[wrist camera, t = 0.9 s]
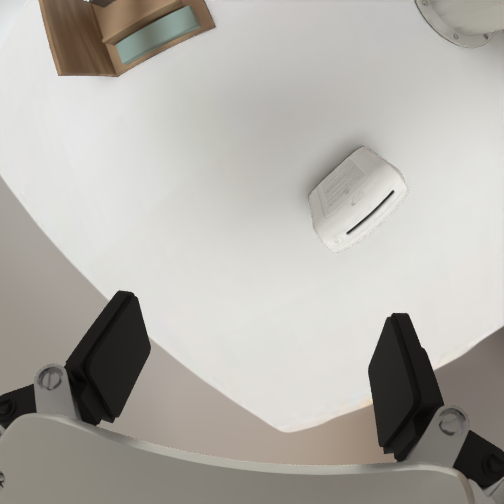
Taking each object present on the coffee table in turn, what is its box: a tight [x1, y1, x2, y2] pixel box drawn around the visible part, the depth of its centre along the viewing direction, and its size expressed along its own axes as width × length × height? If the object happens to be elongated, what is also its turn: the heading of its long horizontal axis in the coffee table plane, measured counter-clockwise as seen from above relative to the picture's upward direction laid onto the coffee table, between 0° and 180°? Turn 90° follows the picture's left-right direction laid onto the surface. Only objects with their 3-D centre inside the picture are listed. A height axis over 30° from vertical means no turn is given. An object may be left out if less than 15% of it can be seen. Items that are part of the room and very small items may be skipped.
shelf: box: [39, 0, 216, 77], centre depth 22 cm, size 14×13×12 cm
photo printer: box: [309, 147, 409, 253], centre depth 30 cm, size 10×4×12 cm, turn 138°
